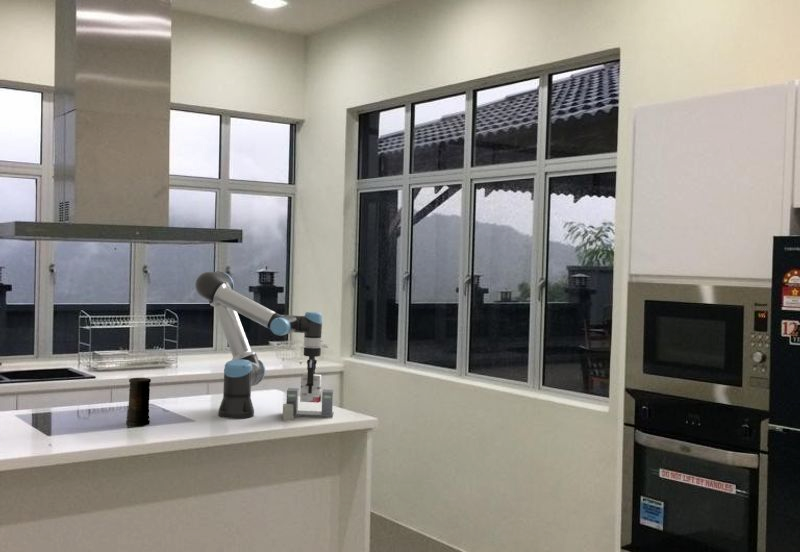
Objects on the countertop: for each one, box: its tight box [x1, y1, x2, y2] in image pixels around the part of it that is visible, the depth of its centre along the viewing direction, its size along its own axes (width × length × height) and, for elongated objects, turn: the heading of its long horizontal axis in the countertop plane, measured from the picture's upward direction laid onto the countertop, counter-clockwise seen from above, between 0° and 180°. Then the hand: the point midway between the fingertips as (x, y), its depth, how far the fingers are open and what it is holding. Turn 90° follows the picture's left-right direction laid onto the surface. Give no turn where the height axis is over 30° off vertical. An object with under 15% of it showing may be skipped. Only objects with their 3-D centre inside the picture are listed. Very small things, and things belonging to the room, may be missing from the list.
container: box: [125, 377, 152, 427], centre depth 317 cm, size 9×9×18 cm
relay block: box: [282, 403, 294, 421], centre depth 340 cm, size 4×6×6 cm, turn 12°
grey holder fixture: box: [285, 387, 335, 418], centre depth 351 cm, size 21×8×11 cm, turn 92°
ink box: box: [299, 373, 322, 404], centre depth 351 cm, size 9×5×12 cm, turn 86°
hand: (310, 399), depth 351 cm, fingers closed on ink box, 5 cm apart
